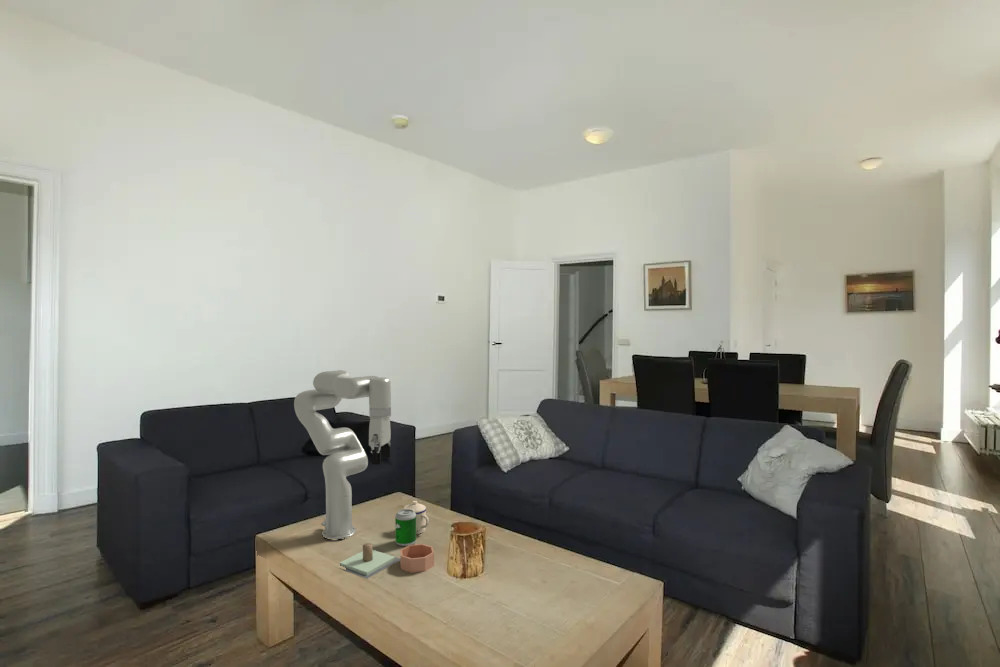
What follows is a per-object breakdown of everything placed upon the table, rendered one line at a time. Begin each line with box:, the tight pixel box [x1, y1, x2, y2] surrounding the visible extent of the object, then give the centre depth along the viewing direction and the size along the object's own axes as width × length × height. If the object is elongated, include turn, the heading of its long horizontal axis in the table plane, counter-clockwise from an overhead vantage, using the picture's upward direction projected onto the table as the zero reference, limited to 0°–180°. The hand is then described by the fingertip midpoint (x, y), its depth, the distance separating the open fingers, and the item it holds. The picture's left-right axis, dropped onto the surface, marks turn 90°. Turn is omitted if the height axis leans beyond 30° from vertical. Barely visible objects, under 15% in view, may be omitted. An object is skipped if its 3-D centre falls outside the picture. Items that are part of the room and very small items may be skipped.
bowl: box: [399, 543, 435, 573], centre depth 177 cm, size 11×11×5 cm
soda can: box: [394, 509, 417, 547], centre depth 194 cm, size 8×8×12 cm
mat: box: [343, 556, 400, 580], centre depth 178 cm, size 16×16×1 cm
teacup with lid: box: [402, 500, 430, 535], centre depth 205 cm, size 12×9×12 cm
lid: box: [339, 542, 396, 575], centre depth 178 cm, size 13×13×6 cm
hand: (381, 460), depth 186 cm, fingers open, 9 cm apart
